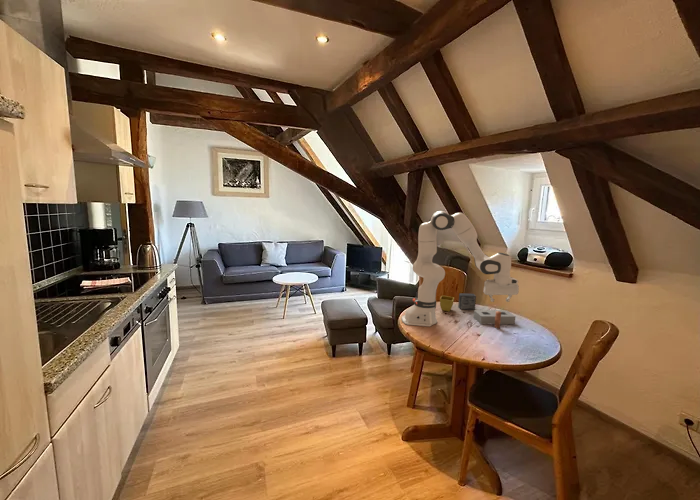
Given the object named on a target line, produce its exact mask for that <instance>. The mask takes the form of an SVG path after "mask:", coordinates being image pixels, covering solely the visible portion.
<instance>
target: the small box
mask: <svg viewBox="0 0 700 500" xmlns="http://www.w3.org/2000/svg"><path fill="white" fill-rule="evenodd" d="M458 294H459V295H458V308H459V310H466V311H474V310H476V300H477V296H476V294H475V293H461V292H460V293H458Z"/></svg>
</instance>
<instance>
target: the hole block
mask: <svg viewBox="0 0 700 500" xmlns="http://www.w3.org/2000/svg"><path fill="white" fill-rule="evenodd" d="M496 311H499V312H501V320H500V325H515V324H516V316H515V315H514V314H512V313H511V312H510V311H509V310H507V309H506V310H502V309H501V310H492V309H491V310H490V309H487V310H485V309H484V310H483V309H482V310H481V309H475V310H473V318H474V320H476V321H477V323H479V324H480V325H495V315H496Z"/></svg>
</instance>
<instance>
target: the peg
mask: <svg viewBox="0 0 700 500" xmlns="http://www.w3.org/2000/svg"><path fill="white" fill-rule="evenodd" d="M500 320H501V312H499V311H496V315H495V324H494V328H495V329H500V328H501V324H500Z"/></svg>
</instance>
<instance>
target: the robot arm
mask: <svg viewBox="0 0 700 500" xmlns="http://www.w3.org/2000/svg"><path fill="white" fill-rule="evenodd" d="M448 229H450V230H452V231H453V232H454V234H455V236H456V237H457V238H458V240H459V241H460V242H461V243H462V244H463V245H464V246H465V247H466V248H467V249H468V250H469V252H470V254H471V255H472V257H473V261H474V265H475V268H476V269H478V270H479V271H480V272H481V273H482V274H485V275H493V279H485V281H484V282H483V285H484V286H483V293H484V295H486V296H489V298H490V302H492V303H494V302H495V299H494V298H493V297H494V296H500V295H501V296H506V295H507V297H505V302H507V303H508V302H510V301H511V298H512V297H513V295H515V296H517V295H518V294H519V291H520V288H519V284H518V283H519V280H518V279H517V278H515V277H512V276H511V269H512V257H511V255H509V254H508V253H505V252H496V253H495V254H494V255H491V256H488V254H486V253H484V251H483V250H482V248H481V247H480V245H479V244H478V243H479V242H478V240H477V239H478V233H477V230H476V228H475V226H474V225H473V222H471V220H470V219H469V218H468V217H467V216H466V214H465V213H463V212H455V213H454V214H449V213H448V211H446V210H444V209H439V210H436V211H434V212H433V213H432V215H431V216H430V219H429V220H428V221H427V222H426V221H425V222H423V223H421V224H420V225H419V228H418V236H417V240H418V243H417V244H418V245H417V246H418V249H417V251H418V253H417V258H416V260H415V261H414V263H413V264H412V271H413V273H414V274H415V275H417V276H419V277H421V278H423V279H422V283H421V284H420V285H419V286H418V289H417V290H418V291H417V299H416V298H412V302H413V303H414V304H413V305H411V306H410V307H408V308H407V309H406V310H405V314H404V315H401V322H402V324H404V325H406V326H407V325H408V326H416V327H417V326H418V327H419V326H420V327H431V326H433V325H435V324H437V322H438V320H437V314H436V313H437V312H436V309H437V300H436V299H437V298H436V297H437V288H438V285H439V283H441V282H442V281H443V280H444V279H445V276H446V271H445V269H444V268H443V266H441V265H439V264H438V263H435V262H433V258H434V256H435V255H436V254H437V252H438V247H437V246H438V244H437V236H438V235H437V233H438V231H446V230H448Z"/></svg>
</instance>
